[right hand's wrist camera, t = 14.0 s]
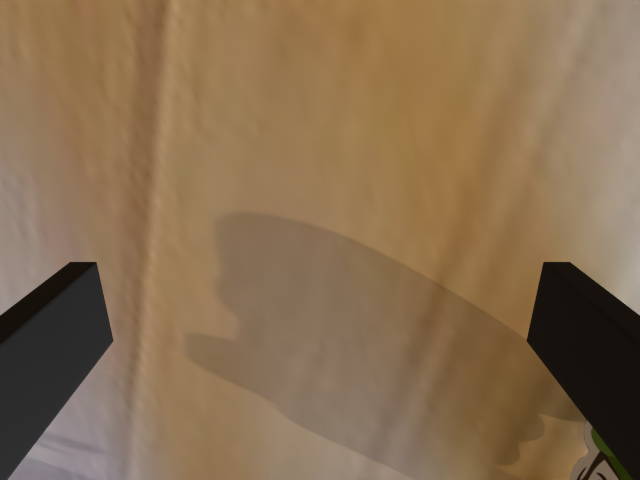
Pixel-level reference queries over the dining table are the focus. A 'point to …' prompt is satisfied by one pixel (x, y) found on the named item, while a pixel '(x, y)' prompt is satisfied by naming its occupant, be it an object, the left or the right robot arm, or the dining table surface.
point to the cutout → (597, 460)
